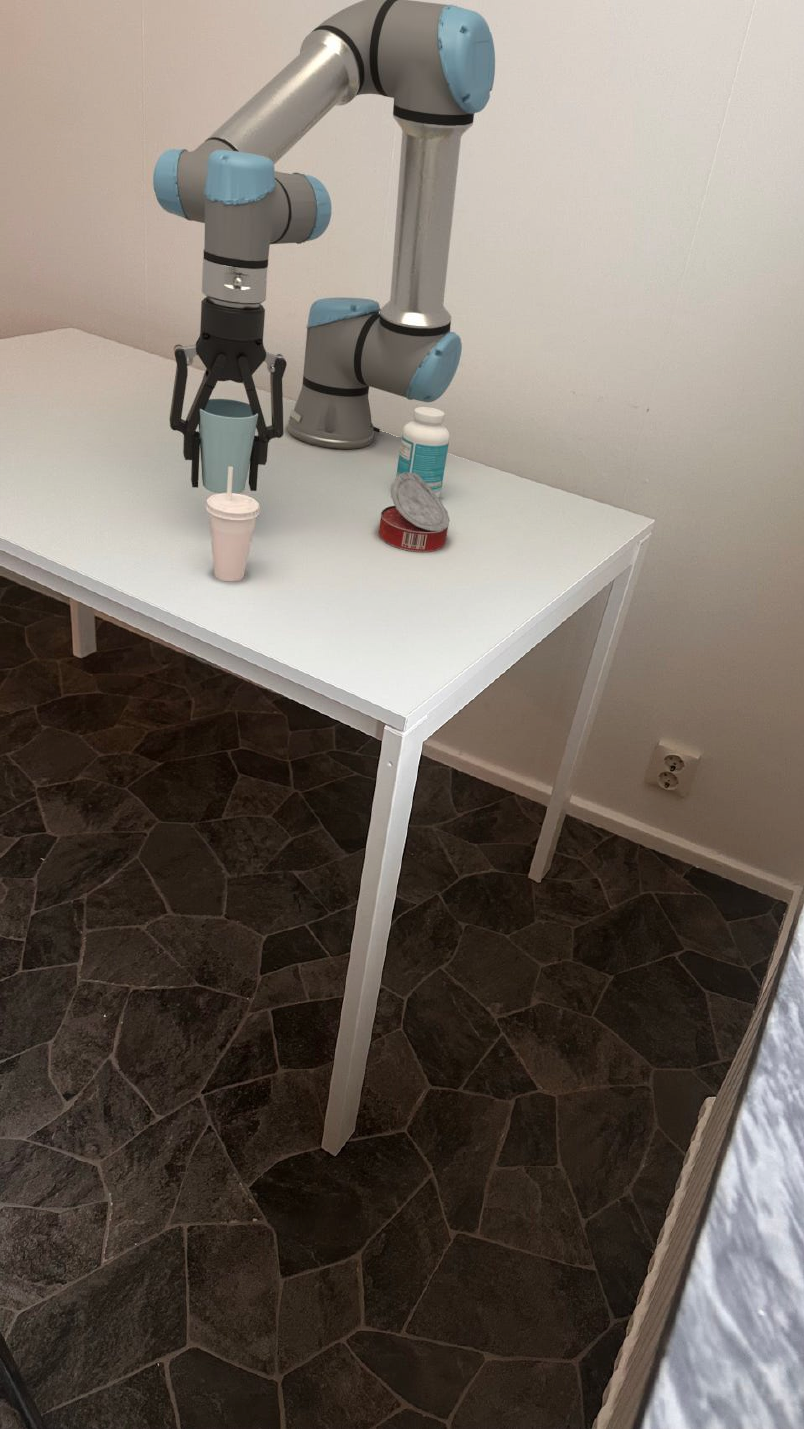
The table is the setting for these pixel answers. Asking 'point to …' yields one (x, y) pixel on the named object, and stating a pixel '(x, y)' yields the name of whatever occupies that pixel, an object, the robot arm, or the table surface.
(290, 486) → the table surface
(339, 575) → the table surface
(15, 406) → the table surface
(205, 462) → the cup
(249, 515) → the smoothie
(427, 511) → the canned food
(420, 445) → the pill bottle
